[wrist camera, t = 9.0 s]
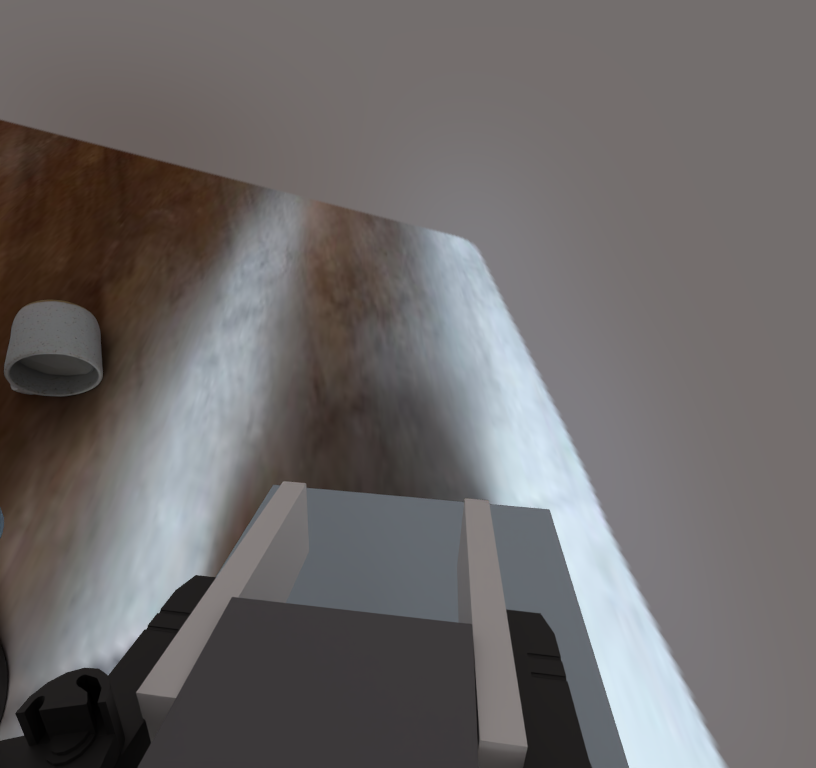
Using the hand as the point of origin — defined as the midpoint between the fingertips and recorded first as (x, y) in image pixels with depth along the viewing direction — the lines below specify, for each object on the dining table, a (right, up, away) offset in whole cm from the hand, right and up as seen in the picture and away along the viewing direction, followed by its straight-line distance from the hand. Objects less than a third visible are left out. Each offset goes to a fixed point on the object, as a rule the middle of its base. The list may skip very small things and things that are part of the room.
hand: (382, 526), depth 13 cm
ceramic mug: (-37, +6, +33) cm, 50 cm away
